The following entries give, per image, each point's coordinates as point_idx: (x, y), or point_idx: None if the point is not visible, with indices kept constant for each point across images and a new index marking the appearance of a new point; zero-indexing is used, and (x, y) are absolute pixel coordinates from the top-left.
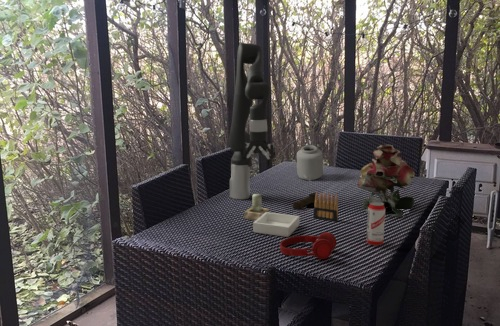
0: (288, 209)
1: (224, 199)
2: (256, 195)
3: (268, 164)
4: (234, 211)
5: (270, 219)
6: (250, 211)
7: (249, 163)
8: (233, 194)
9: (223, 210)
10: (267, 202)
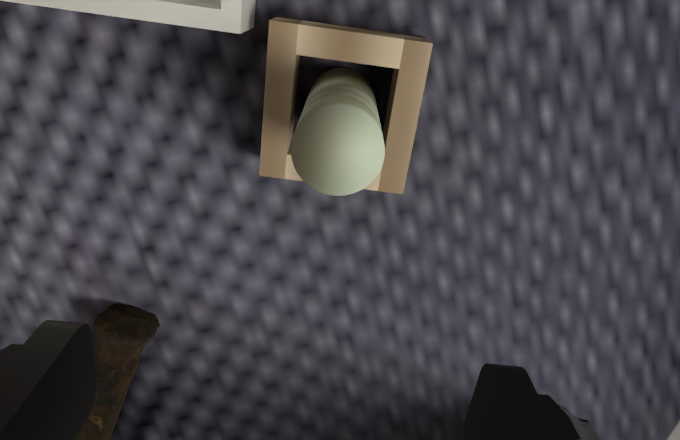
0: (182, 296)
1: (621, 387)
2: (340, 139)
3: (9, 378)
4: (525, 181)
5: (205, 3)
6: (392, 103)
7: (516, 411)
8: (576, 430)
9: (608, 184)
10: (344, 386)
